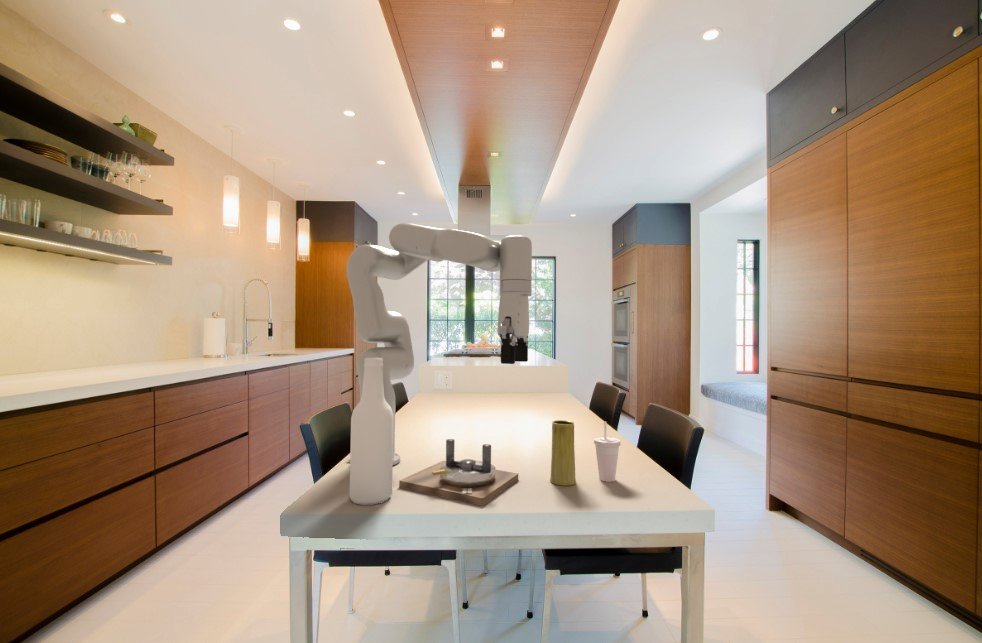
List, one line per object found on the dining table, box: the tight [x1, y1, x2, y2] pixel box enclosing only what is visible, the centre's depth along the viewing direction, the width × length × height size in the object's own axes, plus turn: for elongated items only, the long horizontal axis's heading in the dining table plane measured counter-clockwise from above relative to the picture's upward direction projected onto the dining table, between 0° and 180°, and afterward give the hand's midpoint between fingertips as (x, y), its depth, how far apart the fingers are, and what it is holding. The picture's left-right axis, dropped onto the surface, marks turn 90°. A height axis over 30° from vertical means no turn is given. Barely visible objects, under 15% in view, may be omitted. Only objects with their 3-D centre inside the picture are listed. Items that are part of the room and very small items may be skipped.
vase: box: [549, 419, 577, 487], centre depth 101 cm, size 6×6×14 cm
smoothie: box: [593, 421, 622, 483], centre depth 103 cm, size 6×6×14 cm
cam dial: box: [432, 438, 496, 487], centre depth 98 cm, size 13×14×8 cm
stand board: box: [398, 460, 519, 506], centre depth 99 cm, size 22×18×2 cm
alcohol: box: [349, 358, 394, 506], centre depth 90 cm, size 9×9×30 cm
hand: (514, 362), depth 98 cm, fingers open, 9 cm apart
